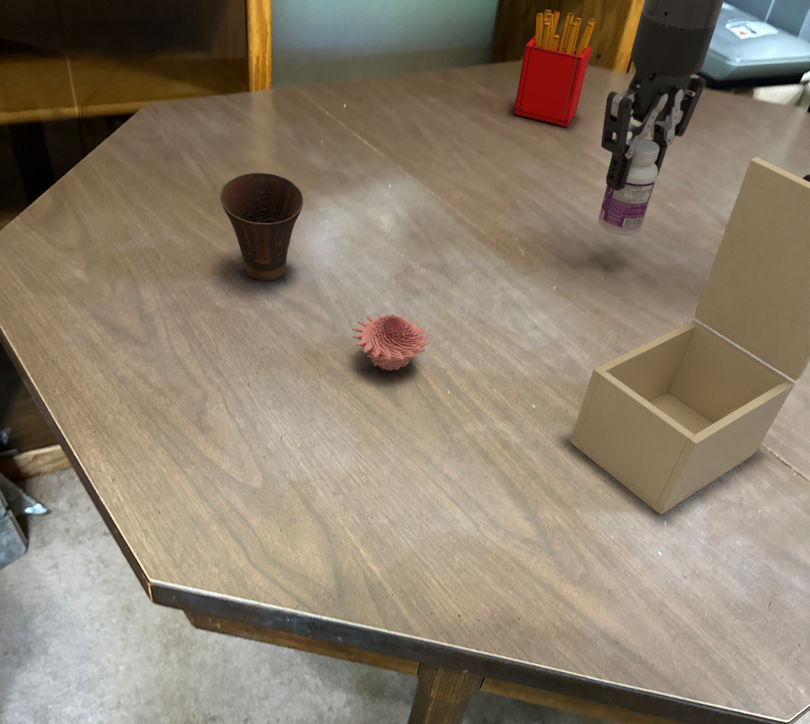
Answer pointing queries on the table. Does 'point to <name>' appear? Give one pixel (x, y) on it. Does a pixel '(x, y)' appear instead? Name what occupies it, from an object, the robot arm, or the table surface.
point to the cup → (262, 220)
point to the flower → (391, 341)
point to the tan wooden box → (677, 413)
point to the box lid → (764, 270)
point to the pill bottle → (631, 193)
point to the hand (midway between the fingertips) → (631, 181)
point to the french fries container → (553, 70)
